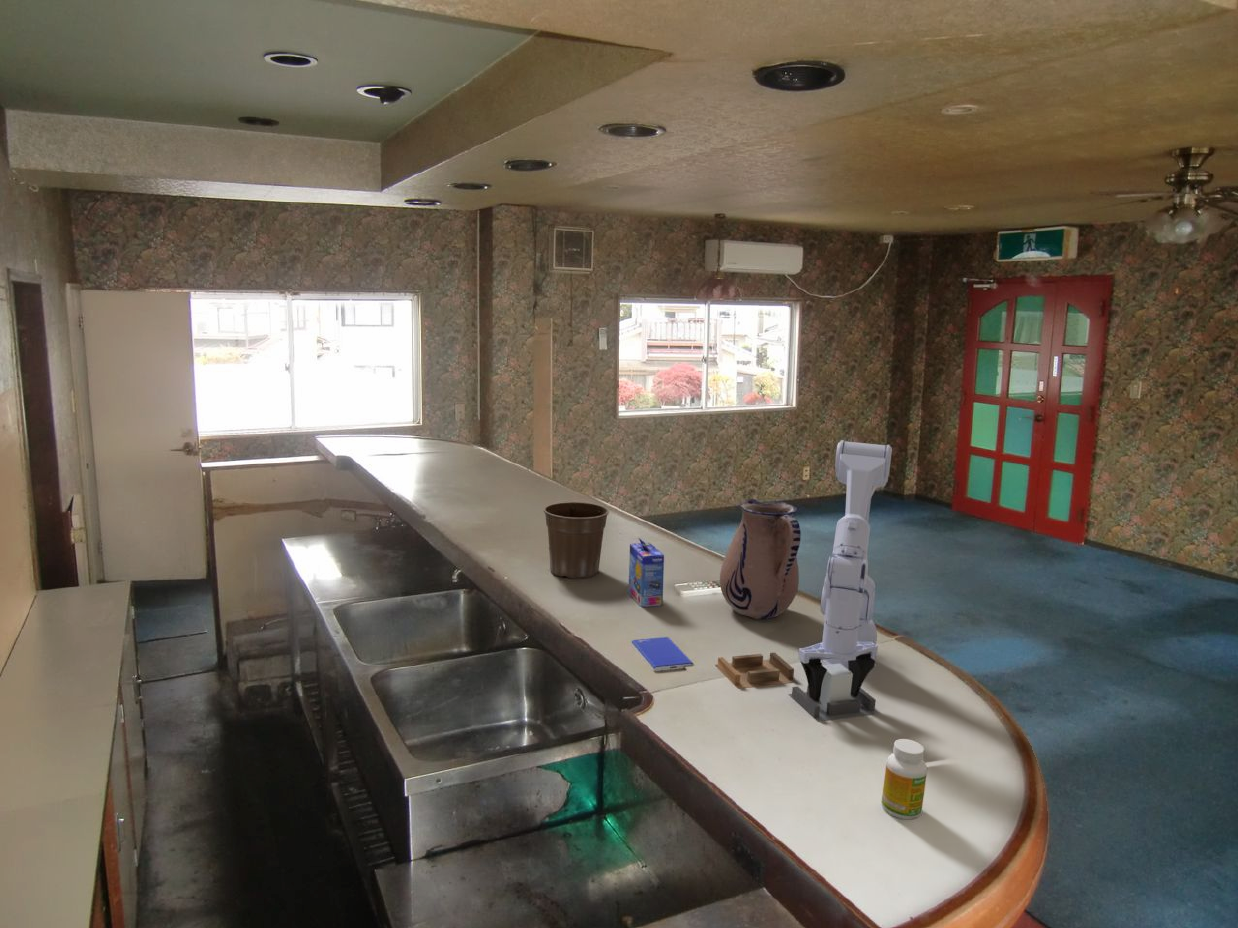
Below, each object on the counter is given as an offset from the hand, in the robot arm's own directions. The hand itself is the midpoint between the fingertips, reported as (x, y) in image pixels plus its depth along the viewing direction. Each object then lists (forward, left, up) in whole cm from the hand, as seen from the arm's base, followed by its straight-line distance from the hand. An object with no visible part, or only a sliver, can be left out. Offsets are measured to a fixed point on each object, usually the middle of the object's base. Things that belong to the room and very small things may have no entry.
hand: (833, 696), depth 148 cm
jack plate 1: (+8, -14, -2) cm, 16 cm away
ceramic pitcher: (-8, -42, -2) cm, 43 cm away
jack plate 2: (0, 0, -2) cm, 2 cm away
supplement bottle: (+7, +29, -2) cm, 30 cm away
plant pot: (+26, -78, -2) cm, 82 cm away
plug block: (0, 0, -1) cm, 1 cm away
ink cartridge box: (+15, -56, -2) cm, 58 cm away
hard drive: (+22, -26, -3) cm, 34 cm away
